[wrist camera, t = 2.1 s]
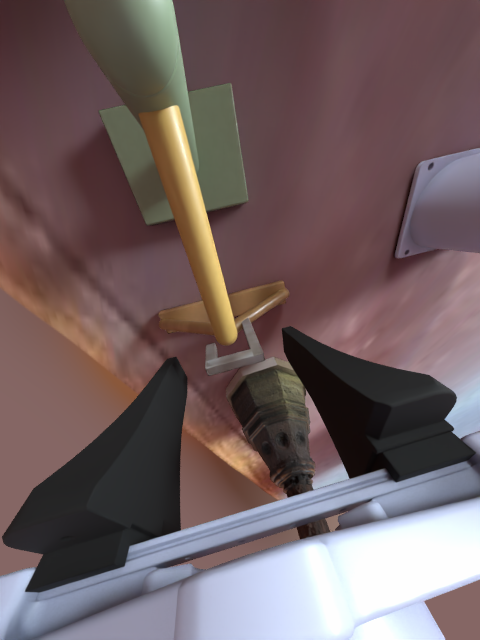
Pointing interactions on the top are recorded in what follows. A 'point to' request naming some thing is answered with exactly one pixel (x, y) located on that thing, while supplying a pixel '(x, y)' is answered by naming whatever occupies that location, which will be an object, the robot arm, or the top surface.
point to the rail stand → (168, 133)
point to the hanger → (243, 304)
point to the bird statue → (277, 426)
